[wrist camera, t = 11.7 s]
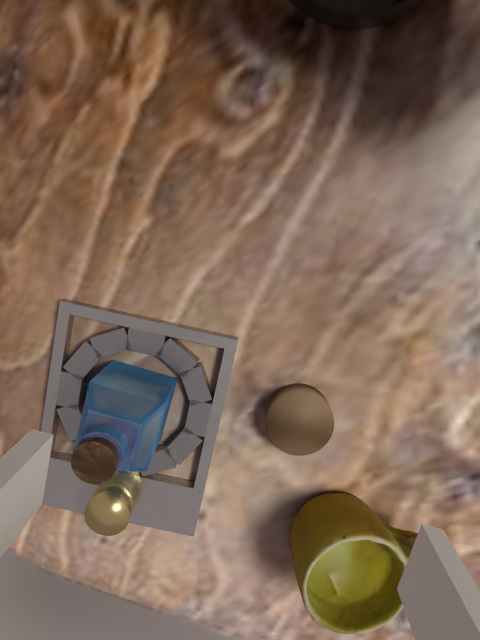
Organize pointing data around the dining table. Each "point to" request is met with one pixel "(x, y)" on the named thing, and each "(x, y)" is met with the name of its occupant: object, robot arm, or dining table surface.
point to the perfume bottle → (121, 421)
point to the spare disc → (299, 419)
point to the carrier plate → (147, 486)
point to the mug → (348, 563)
